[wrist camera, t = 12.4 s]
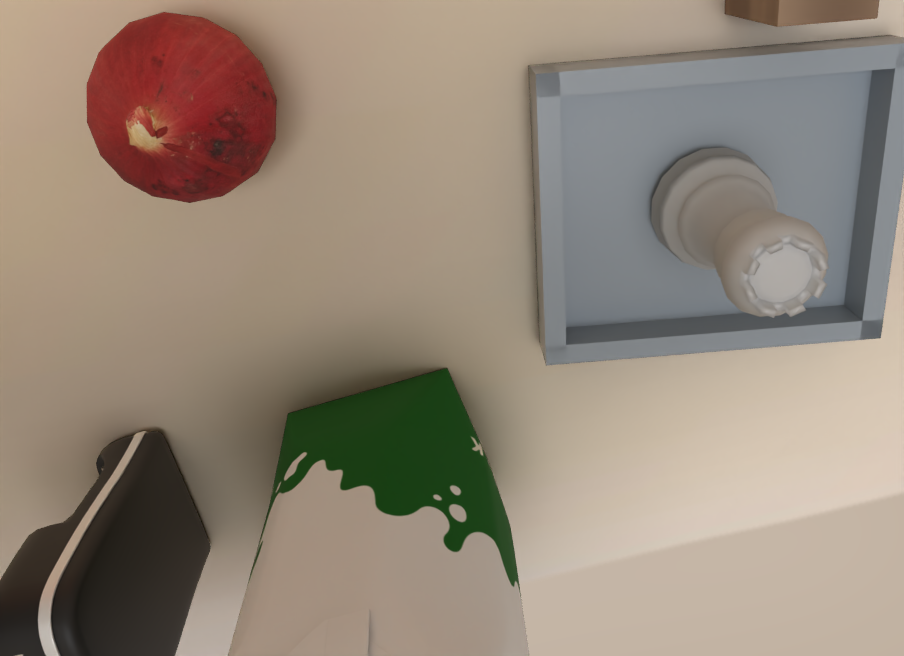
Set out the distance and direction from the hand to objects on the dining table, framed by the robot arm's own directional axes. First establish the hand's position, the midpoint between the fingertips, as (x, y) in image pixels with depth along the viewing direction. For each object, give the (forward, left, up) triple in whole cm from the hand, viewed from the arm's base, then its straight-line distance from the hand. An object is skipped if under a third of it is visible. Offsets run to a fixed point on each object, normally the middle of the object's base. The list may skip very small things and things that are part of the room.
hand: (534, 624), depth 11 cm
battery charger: (-15, -13, -24) cm, 31 cm away
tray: (+9, -2, -23) cm, 25 cm away
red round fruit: (-9, +4, -24) cm, 25 cm away
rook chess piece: (+9, -2, -23) cm, 25 cm away
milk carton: (-4, -12, -24) cm, 27 cm away
